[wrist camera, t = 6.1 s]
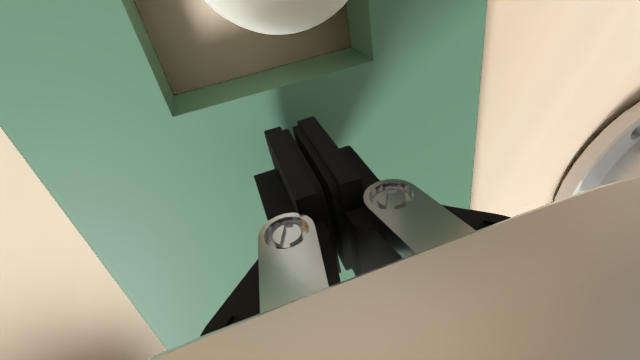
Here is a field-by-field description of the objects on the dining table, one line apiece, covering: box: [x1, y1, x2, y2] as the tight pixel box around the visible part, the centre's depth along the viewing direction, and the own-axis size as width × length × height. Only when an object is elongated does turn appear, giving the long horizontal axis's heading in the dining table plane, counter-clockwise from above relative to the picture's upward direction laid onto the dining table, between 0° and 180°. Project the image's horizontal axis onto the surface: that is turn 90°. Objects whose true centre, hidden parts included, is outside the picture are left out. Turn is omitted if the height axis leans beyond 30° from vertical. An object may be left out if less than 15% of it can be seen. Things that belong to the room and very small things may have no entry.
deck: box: [0, 0, 487, 351], centre depth 14 cm, size 15×24×2 cm, turn 9°
